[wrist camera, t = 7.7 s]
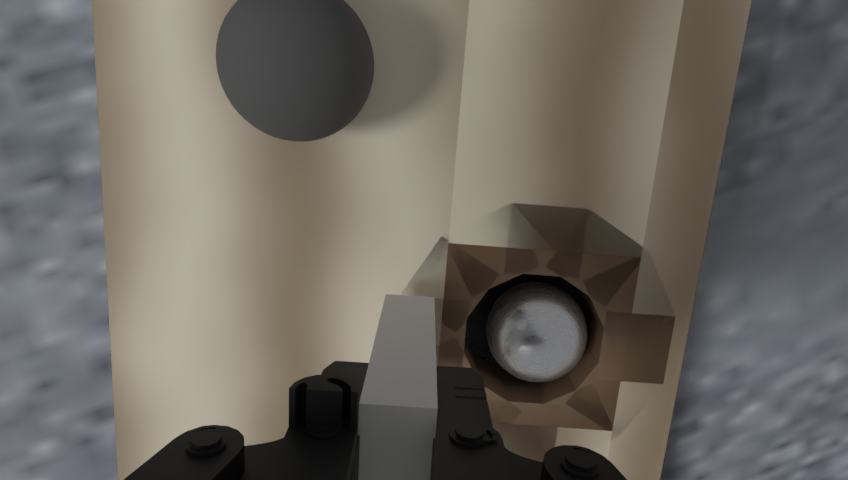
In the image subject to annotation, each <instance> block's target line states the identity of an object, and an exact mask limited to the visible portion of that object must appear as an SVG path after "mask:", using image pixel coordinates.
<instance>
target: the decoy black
mask: <svg viewBox="0 0 848 480" xmlns="http://www.w3.org/2000/svg"><path fill="white" fill-rule="evenodd" d="M216 66H217V71H218V76H219V79H220V82H221V85H222V88H223V90H224V92H225V94H226V96H227V98H228V100H229V101H230V103H231V104H232V106H233V107H234V108H235V110H236V111H237V112H238V113H239V114H240V115H241V116H242V117H243V118H244V119H245V120H246V121H247V122H248V123H250V124H251V125H252V126H254V127H255V128H257V129H258V130H260V131H262V132H264V133H265V134H268V135H270V136H273V137H275V138H279V139H282V140H288V141H298V142H306V141H314V140H318V139H322V138H325V137H328V136H330V135H332V134H334V133H336V132H338V131H339V130H341V129H343V128H344V127H345V126H347V125H348V124H349V123H350V122H351V121H352V120H353V119H354V118H355V117H356V116H357V115H358V113H359V112H360V111H361V109H362V108H363V106H364V104H365V103H366V101H367V99H368V96H369V93H370V91H371V87H372V83H373V77H374V56H373V49H372V45H371V42H370V38H369V36H368V33H367V31H366V28H365V27H364V25H363V23H362V21H361V19H360V18H359V17H358V15H357V14H356V12H355V11H354V10H353V9H352V8H351V7H350V6H349V5H348V4H347V3H346V2H345V1H344V0H237V2H236V3H235V4H234V5H233V6H232V7H231V9H230V10H229V12H228V13H227V15H226V16H225V18H224V20H223V23H222V25H221V27H220V30H219V34H218V38H217V43H216Z"/></svg>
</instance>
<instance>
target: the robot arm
mask: <svg viewBox="0 0 848 480" xmlns="http://www.w3.org/2000/svg"><path fill="white" fill-rule="evenodd" d="M124 480H627V479H626V478H625V477H624V476H623V475H622V474H621V473H620V471H619V470H618V469H617V468H616V467H615V466H614V465H613V464H612V463H611V462H610V461H609V460H608V459H606V458H605V457H604V456H603V455H601V454H599V453H597V452H595V451H593V450H591V449H588V448H585V447H581V446H576V445H561V446H557V447H553V448H551V449H550V450H548V451H547V452H546V453H545V455H544V459H543V462H540V461H536V460H532V459H529V458H526V457H523V456H520V455H517V454H515V453H513V452H511V451H509V450H508V449H506V448H505V447H504V443H503V439H502V438H501V436H500V434H499V432H497V431H496V430H495V429H494V428H493V426H492V421H491V416H490V412H489V407H488V402H487V397H486V392H485V387H484V382H483V378H482V377H481V376H480V375H479V374H478V373H477V372H476V371H475V370H474V369H473V368H465V367H449V366H436V334H435V300H434V297H423V296H408V295H392V294H386V296H385V300H384V304H383V308H382V312H381V316H380V320H379V324H378V328H377V332H376V336H375V340H374V345H373V349H372V353H371V357H370V361H369V363H362V362H346V361H334V362H333V363H332V364H330V365H329V366H327V367H326V368H325V369H323V371H322V374H321V375H314V376H309V377H304V378H302V379H300V380H298V381H296V382H294V383H293V385H292V386H291V387H290V388H289V427H288V429H287V432H286V434H285V436H284V438H281V439H279V440H276V441H273V442H268V443H263V444H256V445H248V446H244V436H243V435H242V434H241V433H240V432H239V431H238V430H237V429H234V428H231V427H229V426H220V425H209V426H201V427H198V428H195V429H192V430H189V431H186V432H185V433H183V434H181V435H179V436H178V437H176V438H175V439H173V440H172V441H171V442H170V443H168V444H167V445H166V446H165V447H163V448H162V449H161V450H160V451H158V452H157V453H156V454H155V455H153V456H152V457H151V458H150V459H148V460H147V461H146V462H145V463H144V464H142V465H141V466H140V467H139V468H137V469H136V470H135V471H134V472H132V473H131V474H130V475H129V476H127V477H126V478H125V479H124Z"/></svg>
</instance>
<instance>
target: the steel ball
mask: <svg viewBox="0 0 848 480" xmlns="http://www.w3.org/2000/svg"><path fill="white" fill-rule="evenodd" d="M486 335H487V342H488V345H489V348H490V351H491V353H492V355H493V357H494V358H495V359H496V361H497V362H498V364H499V365H500V366H501V367H502V368H503V369H504V370H506V371H507V372H508V373H510V374H511V375H513V376H515V377H517V378H519V379H522V380H525V381H530V382H547V381H552V380H555V379H558V378H560V377H562V376H564V375H565V374H567V373H568V372H569V371H570V370H572V369H573V368H574V367H575V366H576V364H577V363H578V362H579V360H580V359H581V357H582V355H583V353H584V350H585V347H586V342H587V325H586V320H585V317H584V314H583V312H582V310H581V308H580V306H579V305H578V303H577V302H576V301H575V300H574V299H573V298H572V297H571V296H570V295H569V294H568V293H567V292H565V291H564V290H562V289H561V288H559V287H557V286H554V285H552V284H549V283H544V282H526V283H522V284H519V285H516V286H514V287H512V288H510V289H508V290H507V291H506V292H504V293H503V294H502V295H501V296H500V297H499V298H498V299H497V300H496V302H495V303H494V305H493V306H492V308H491V310H490V313H489V316H488V320H487V325H486Z"/></svg>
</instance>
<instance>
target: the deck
mask: <svg viewBox="0 0 848 480" xmlns="http://www.w3.org/2000/svg"><path fill="white" fill-rule="evenodd" d="M344 1H345V2H346V3H347V4H348V5H349V6H350V7H351V8H352V9H353V10H354V11H355V12H356V14H357V15H358V17H359V18H360V19H361V21H362V23H363V25H364V27H365V28H366V31H367V33H368V36H369V38H370V42H371V45H372V49H373V56H374V77H373V83H372V87H371V91H370V93H369V96H368V99H367V101H366V103H365V104H364V106H363V108H362V109H361V111H360V112H359V113H358V115H357V116H356V117H355V118H354V119H353V120H352V121H351V122H350V123H349V124H348V125H347V126H345V127H344V128H343V129H341V130H339V131H338V132H336V133H334V134H332V135H330V136H328V137H325V138H322V139H318V140H314V141H306V142H298V141H288V140H282V139H279V138H275V137H273V136H270V135H268V134H265V133H264V132H262V131H260V130H258V129H257V128H255V127H254V126H252V125H251V124H250V123H248V122H247V121H246V120H245V119H244V118H243V117H242V116H241V115H240V114H239V113H238V112H237V111H236V110H235V108H234V107H233V106H232V104H231V103H230V101H229V100H228V98H227V96H226V94H225V92H224V90H223V88H222V85H221V82H220V79H219V76H218V71H217V66H216V43H217V38H218V34H219V30H220V27H221V25H222V23H223V20H224V18H225V16H226V15H227V13H228V12H229V10H230V9H231V7H232V6H233V5H234V4H235V3H236V2H237V0H92V10H93V29H94V47H95V66H96V84H97V103H98V121H99V140H100V158H101V177H102V195H103V214H104V232H105V251H106V269H107V288H108V306H109V325H110V343H111V362H112V380H113V399H114V417H115V436H116V454H117V473H118V480H124V479H125V478H126V477H127V476H129V475H130V474H131V473H132V472H134V471H135V470H136V469H137V468H139V467H140V466H141V465H142V464H144V463H145V462H146V461H147V460H148V459H150V458H151V457H152V456H153V455H155V454H156V453H157V452H158V451H160V450H161V449H162V448H163V447H165V446H166V445H167V444H168V443H170V442H171V441H172V440H173V439H175V438H176V437H178V436H179V435H181V434H183V433H185V432H186V431H189V430H192V429H195V428H198V427H201V426H209V425H220V426H229V427H231V428H234V429H237V430H238V431H239V432H240V433H241V434H242V435H243V436H244V446H248V445H256V444H263V443H268V442H273V441H276V440H279V439H281V438H284V436H285V434H286V432H287V429H288V427H289V388H290V387H291V386H292V385H293V383H294V382H296V381H298V380H300V379H302V378H304V377H309V376H314V375H321V374H322V371H323V369H325V368H326V367H327V366H329V365H330V364H332V363H333V362H334V361H346V362H362V363H369V361H370V357H371V353H372V349H373V345H374V340H375V336H376V332H377V328H378V324H379V320H380V316H381V312H382V308H383V304H384V300H385V296H386V294H392V295H408V296H423V297H434V300H435V334H436V366H449V367H465V368H473V369H474V370H475V371H476V372H477V373H478V374H479V375H480V376H481V377H482V378H483V382H484V387H485V392H486V397H487V402H488V407H489V412H490V416H491V421H492V426H493V428H494V429H495V430H496V431H497V432H499V434H500V436H501V438H502V439H503V443H504V447H505V448H506V449H508V450H509V451H511V452H513V453H515V454H517V455H520V456H523V457H526V458H529V459H532V460H536V461H540V462H543V459H544V455H545V453H546V452H547V451H548V450H550V449H551V448H553V447H557V446H561V445H576V446H581V447H585V448H588V449H591V450H593V451H595V452H597V453H599V454H601V455H603V456H604V457H605V458H606V459H608V460H609V461H610V462H611V463H612V464H613V465H614V466H615V467H616V468H617V469H618V470H619V471H620V473H621V474H622V475H623V476H624V477H625V478H626V479H627V480H660V477H661V472H662V466H663V461H664V456H665V451H666V446H667V440H668V435H669V430H670V425H671V419H672V414H673V409H674V404H675V398H676V393H677V388H678V383H679V378H680V372H681V367H682V362H683V357H684V351H685V346H686V341H687V336H688V331H689V325H690V320H691V315H692V310H693V304H694V299H695V294H696V289H697V284H698V278H699V273H700V268H701V263H702V257H703V252H704V247H705V242H706V237H707V231H708V226H709V221H710V216H711V210H712V205H713V200H714V195H715V189H716V184H717V179H718V174H719V169H720V163H721V158H722V153H723V148H724V142H725V137H726V132H727V127H728V122H729V116H730V111H731V106H732V101H733V95H734V90H735V85H736V80H737V75H738V69H739V64H740V59H741V54H742V48H743V43H744V38H745V33H746V28H747V22H748V17H749V12H750V7H751V1H752V0H344ZM521 274H533V275H546V276H559V277H562V278H563V279H565V280H566V281H568V282H569V283H571V284H572V285H574V286H575V287H576V288H577V290H578V293H579V295H580V297H581V299H582V302H583V308H582V312H583V314H584V317H585V320H586V325H587V342H586V347H585V350H584V353H583V355H582V357H581V359H580V360H579V362H578V363H577V364H576V366H575V367H574V368H573V369H572V370H570V371H569V372H568V373H567V374H565V375H564V376H562V377H560V378H558V379H555V380H552V381H547V382H530V381H525V380H522V379H519V378H517V377H515V376H513V375H511V374H510V373H508V372H507V371H506V370H504V369H500V368H497V367H496V366H494V365H493V364H491V363H490V362H488V361H487V360H485V359H483V358H482V357H480V356H479V355H477V354H476V353H474V352H473V351H472V349H471V347H470V345H469V342H468V340H467V338H466V336H465V334H466V324H467V318H468V316H469V315H470V314H471V312H472V311H473V310H474V308H475V307H476V306H477V304H478V303H479V301H480V300H481V299H482V297H483V296H484V295H485V293H486V292H487V291H488V289H490V288H492V287H495V286H497V285H499V284H501V283H504V282H506V281H508V280H510V279H512V278H515V277H517V276H519V275H521Z"/></svg>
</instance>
